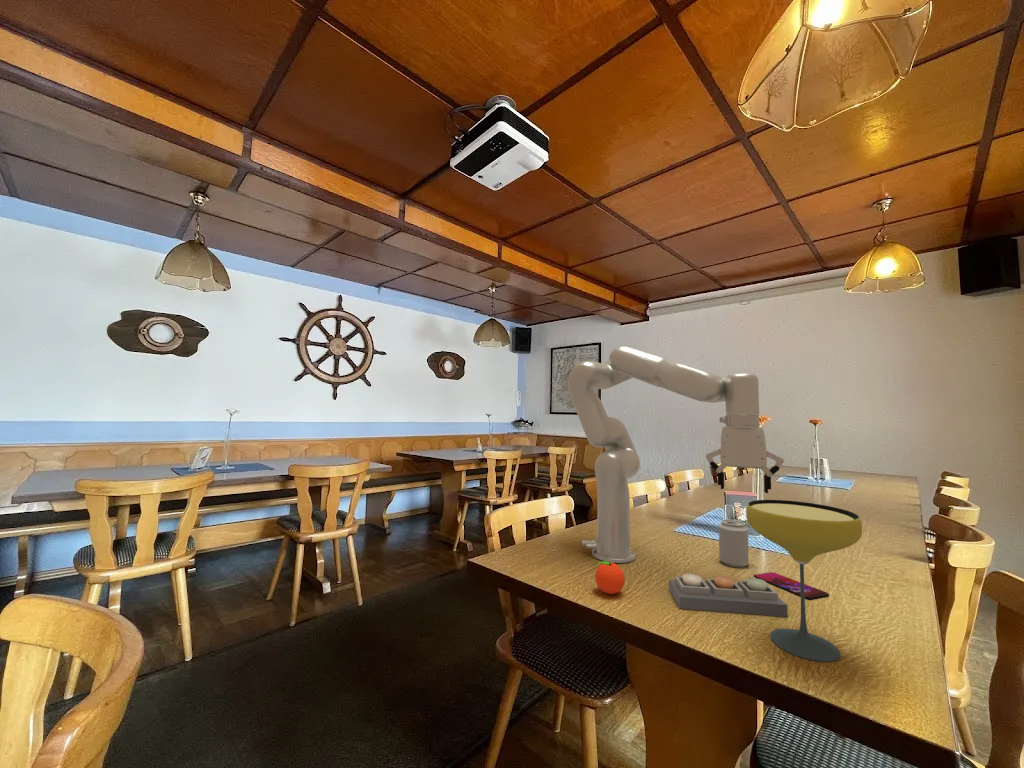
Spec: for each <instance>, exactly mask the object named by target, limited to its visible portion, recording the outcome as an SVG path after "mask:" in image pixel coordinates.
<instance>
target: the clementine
mask: <svg viewBox="0 0 1024 768" xmlns="http://www.w3.org/2000/svg"><path fill="white" fill-rule="evenodd" d="M598 564H599V566H598V567H597V568H596V570H595V573H594V580H595V583H596V585H597V586H596V587H597V588H599V589H600V591H602V592H603V593H605V594H607V595H614V594H617V593H619V592H620V591H621V590H622V589H623V588H624V586H625V580H626V579H625V574H624V571H623V570H622V569H621V567H620V566H619V565H617V563H612V562H606V561H599V562H598ZM596 565H597V563H595V564H594V565H593V569H595V566H596Z"/></svg>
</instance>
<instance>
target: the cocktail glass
mask: <svg viewBox="0 0 1024 768" xmlns="http://www.w3.org/2000/svg"><path fill="white" fill-rule="evenodd" d="M745 515H746V516H745V517H746V520H747V522H748V525H749V526H750V527H751V529H753V530H754V531H755V532H757V533H758V534H759V535H761V536H762V537H764V538H765V539H767V540H769V541H770V542H772V543H774V544H776V545H777V546H779V547H781V548H782V549H783V550H785V551H787V553H788V554H789V555H790V556H791V558H792V559H793V561H795V562H796V563H797V564H799V577H800V578H799V582H800V592H801V597H800V621H799V623H800V624H799V629H794V628H777V629H774V630H772V631H771V632H770V634H769V635H770V636H769V637H770V640H771V641H772V643H773V644H774V645H775V646H777V647H778V648H779V649H781V650H783V651H784V652H786V653H788V652H789V654H790V653H791V655H793V656H796V657H798V658H801V659H805V660H808V661H812V660H813V661H814V662H818V661H819V662H820V663H831V662H835V661H838V660H839V659H840V658H841V656H842V655H841V651H840V649H839V648H838V647H837V646H836V645H835V644H834V643H832V642H831V641H829V640H828V639H825V638H823V637H822V636H819V635H816V634H813V633H810V632H808V627H807V619H806V618H807V617H806V599H805V592H804V584H805V565H807V564H809V563H810V562H811V561H813V560H814V558H815V557H817V556H820V555H823V554H826V553H830V552H831V553H832V552H835V551H836V552H837V551H840V550H843V549H846V548H849V547H851V546H852V545H854V544H856V543H857V542H859V541H860V539H861V538H862V534H863V525H862V519H861V517H860V515H858V514H856V513H855V512H853V511H849V510H846V509H842V508H839V507H835V506H830V505H826V504H820V503H819V504H818V503H812V502H805V501H804V502H803V501H796V500H795V501H794V500H788V499H787V500H785V499H756V500H751V501H748V502H747V505H746V510H745Z"/></svg>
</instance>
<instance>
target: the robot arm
mask: <svg viewBox="0 0 1024 768" xmlns="http://www.w3.org/2000/svg"><path fill="white" fill-rule="evenodd" d="M631 379H635V380H639V381H642V382H644V383H647V384H649V385H651V386H655V387H658V388H661V389H665V390H666V391H670V392H673V393H675V394H679V395H681V396H684V397H687V398H689V399H692V400H695V401H698V402H703V403H710V404H712V403H713V404H714V403H720V402H724V403H725V415H724V416H721V417H719V423H722V424H725V426H723V427H722V430H721V436H720V448H718V449H716V450H714V451H711V452H709V453H707V454H705V458H706V460H707V462H708V463H709V466H710V467H711V468H712V469H713V470H714V471H716V473H717V485H718V486H720V489H721V490H724V489H725V472H724V470H725V469H726V468H727V467H730V468H743V469H744V468H745V469H759V470H761V471H762V472H763V474H764V475H763V487H764V488H763V491H764V493H765V494H769V491H770V490H772V476H773V475H775V474H776V473H777V472H779V470H780V469H781V467H782V465H783V463H784V462H785V460H784V459H783V458H782V457H780V456H778V455H776V454H774V453H772V452H769V450H767V442H766V435H765V430H764V427H760V395H759V388H760V387H759V377H758V376H757V375H756V374H753V373H733V374H727V375H726V376H725V375H723V376H722V375H716V374H712V373H710V372H706V371H702V370H700V369H696V368H694V367H690V366H687V365H684V364H681V363H678V362H675V361H672V360H671V359H669V358H667V357H664V356H661V355H657V354H654V353H651V352H647V351H644V350H641V349H638V348H636V347H633V346H632V347H631V346H627V345H619V346H617V347H614V349H613V350H611V351H610V354H609V357H608V361H607V362H605V363H603V362H597V361H592V360H586V361H585V360H584V361H580V362H578V363H577V364H576V365H575V366H574V367H573V368H572V370H571V371H570V373H569V376H568V379H567V391H568V394H569V398H570V401H571V402H572V404H573V407H574V409H575V411H576V414H577V417H578V419H579V421H580V424H581V427H582V429H583V431H584V434H585V436H586V438H587V441H588V443H589V444H590V445H591V446H592V447H595V448H604V449H605V451H603V452H601V453H600V454H599V455H598V456H597V458H596V460H595V464H594V475H595V480H596V481H595V482H596V491H597V493H596V498H597V499H596V501H597V502H596V504H597V508H596V509H597V516H596V517H597V518H596V519H597V520H596V521H597V524H596V525H597V526H596V529H597V530H596V531H597V533H596V534H597V535H596V536H595V539H592V540H588V539H582V540H581V547H582V548H583V547H585V548H586V549H589V550H590V549H591V555H592V556H593V557H594V558H595V559H597V560H600V561H601V562H603V561H605V562H612V563H615V564H625V563H630V562H634V560H635V559H636V553H635V552H634V551H633V550H631V541H630V540H631V538H630V537H631V533H630V530H631V528H630V527H631V523H630V522H631V519H630V518H631V515H630V514H631V513H630V509H631V508H630V507H631V506H630V503H631V501H630V498H631V497H630V489H629V483H628V479H630V478H632V477H634V476H635V475H636V474H637V473H638V472H639V471H640V466H641V460H640V457H639V454H638V452H637V450H636V447H635V445H634V443H633V441H632V439H631V436H630V434H629V431H628V429H627V428H626V425H625V424H623V422H622V421H621V420H619V419H618V418H616V417H611V416H608V414H607V412H606V409H605V408H604V405H603V402H602V401H601V399H600V397H599V395H597V393H596V391H595V389H597V390H607V389H610V388H612V387H614V386H617V385H619V384H622V383H623V382H626V381H628V380H631ZM719 455H720V463H721V464H720V465H718V464H717V462H715V460H714V457H716V456H719ZM768 458H769V459H771V460H773V461H775V464H774V465H773V466H772V467H771V468H770V469H769V468H768V467H767V464H768Z"/></svg>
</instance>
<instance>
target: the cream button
mask: <svg viewBox="0 0 1024 768" xmlns="http://www.w3.org/2000/svg"><path fill="white" fill-rule="evenodd" d="M682 577H683V584H684V585H686V586H695V587H701V586H702V583H701V578H702V577H701V576H700V575H698V574H695V573H684V574H682Z"/></svg>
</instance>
